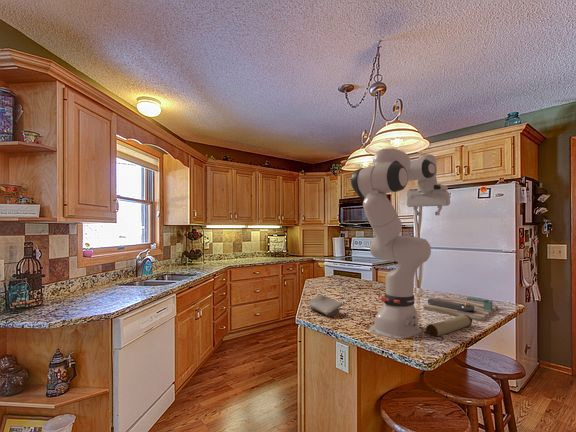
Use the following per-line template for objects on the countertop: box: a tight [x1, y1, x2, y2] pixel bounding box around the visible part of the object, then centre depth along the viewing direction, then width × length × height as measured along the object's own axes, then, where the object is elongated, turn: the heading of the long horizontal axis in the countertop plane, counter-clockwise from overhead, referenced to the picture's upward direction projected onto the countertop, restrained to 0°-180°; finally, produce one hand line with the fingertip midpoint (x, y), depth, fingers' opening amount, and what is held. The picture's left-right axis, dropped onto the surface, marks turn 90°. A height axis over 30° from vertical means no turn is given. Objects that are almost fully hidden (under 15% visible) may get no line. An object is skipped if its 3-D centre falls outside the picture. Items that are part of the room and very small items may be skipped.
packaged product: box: [305, 293, 343, 317], centre depth 152 cm, size 18×5×10 cm
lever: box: [427, 298, 474, 312], centre depth 154 cm, size 21×6×3 cm, turn 44°
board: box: [423, 296, 499, 322], centre depth 157 cm, size 29×26×2 cm
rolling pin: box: [423, 315, 473, 338], centre depth 126 cm, size 32×6×5 cm, turn 120°
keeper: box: [466, 296, 493, 311], centre depth 153 cm, size 3×10×4 cm, turn 44°
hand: (427, 215), depth 151 cm, fingers open, 8 cm apart
